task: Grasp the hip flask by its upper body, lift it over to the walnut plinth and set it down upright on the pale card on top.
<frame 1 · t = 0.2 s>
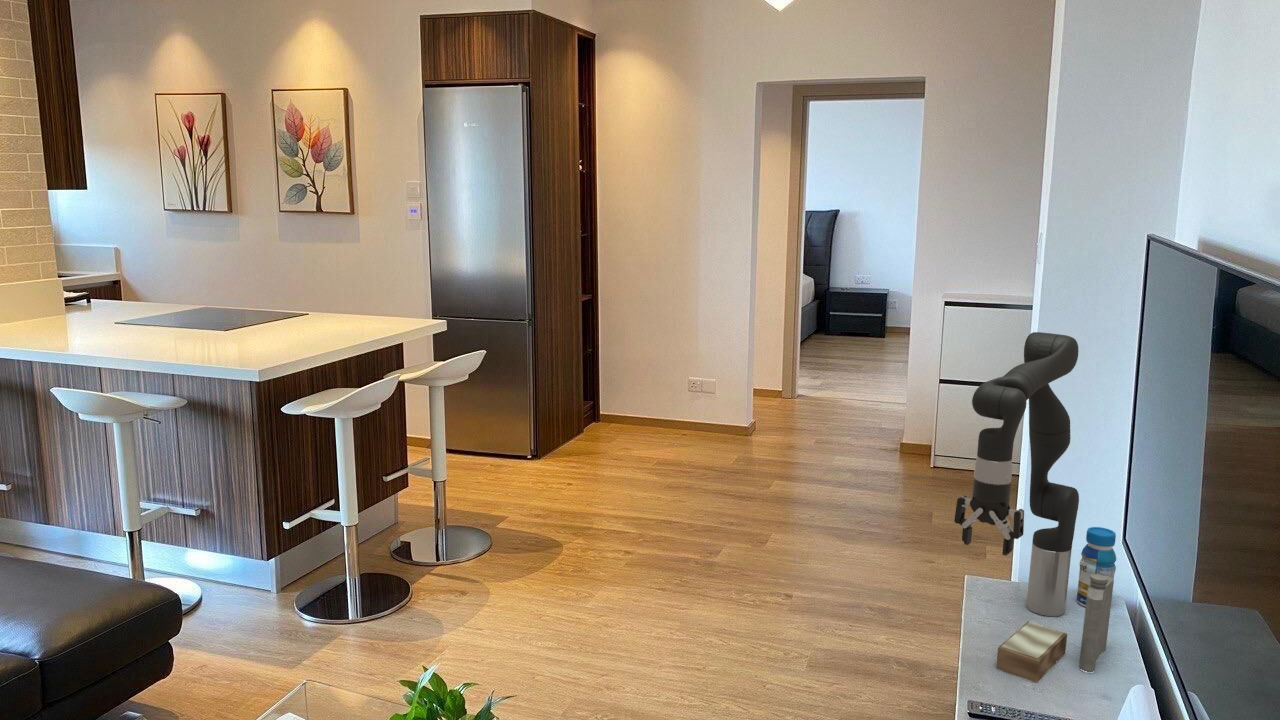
hand: (986, 549, 208), 29 cm above the tv stand, tool pointing down, fingers open, 8 cm apart
walnut plinth: (1031, 660, 219), on the tv stand
hip flask: (1090, 658, 221), on the tv stand
beverage bottle: (1093, 604, 249), on the tv stand
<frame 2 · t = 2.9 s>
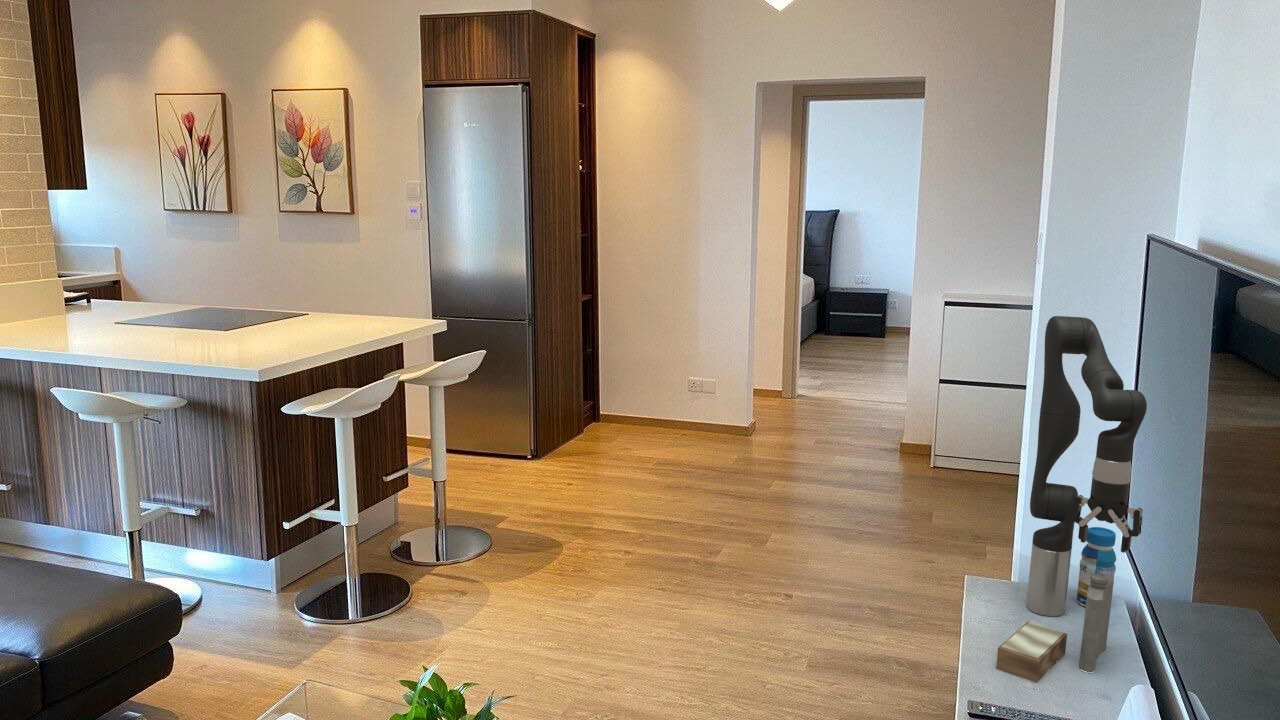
hand: (1103, 546, 216), 27 cm above the tv stand, tool pointing down, fingers open, 8 cm apart
nothing on the tv stand moved.
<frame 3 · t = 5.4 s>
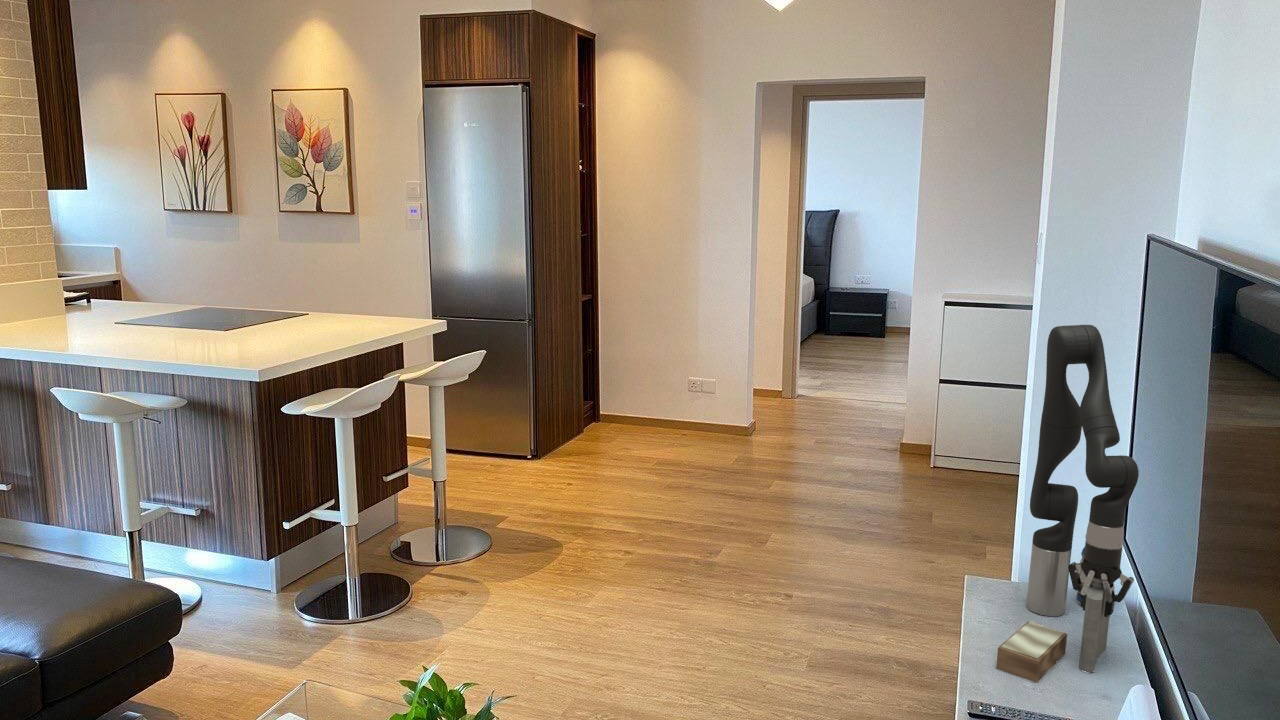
hand: (1096, 612, 219), 11 cm above the tv stand, tool pointing down, fingers closed on hip flask, 4 cm apart
hip flask: (1090, 658, 221), on the tv stand, touching gripper
everything else where it was.
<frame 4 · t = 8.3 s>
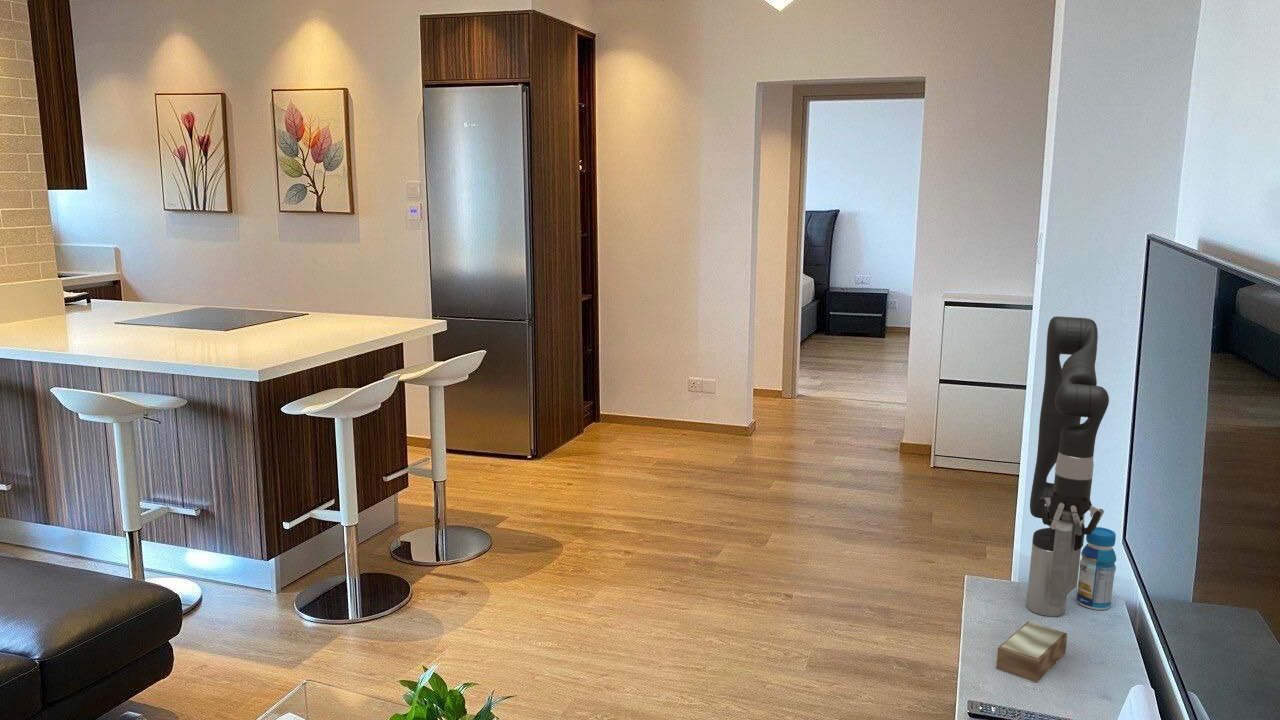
hand: (1065, 546, 214), 27 cm above the tv stand, tool pointing down, fingers closed on hip flask, 4 cm apart
hip flask: (1060, 594, 216), point 16 cm above the tv stand, touching gripper
everything else where it was.
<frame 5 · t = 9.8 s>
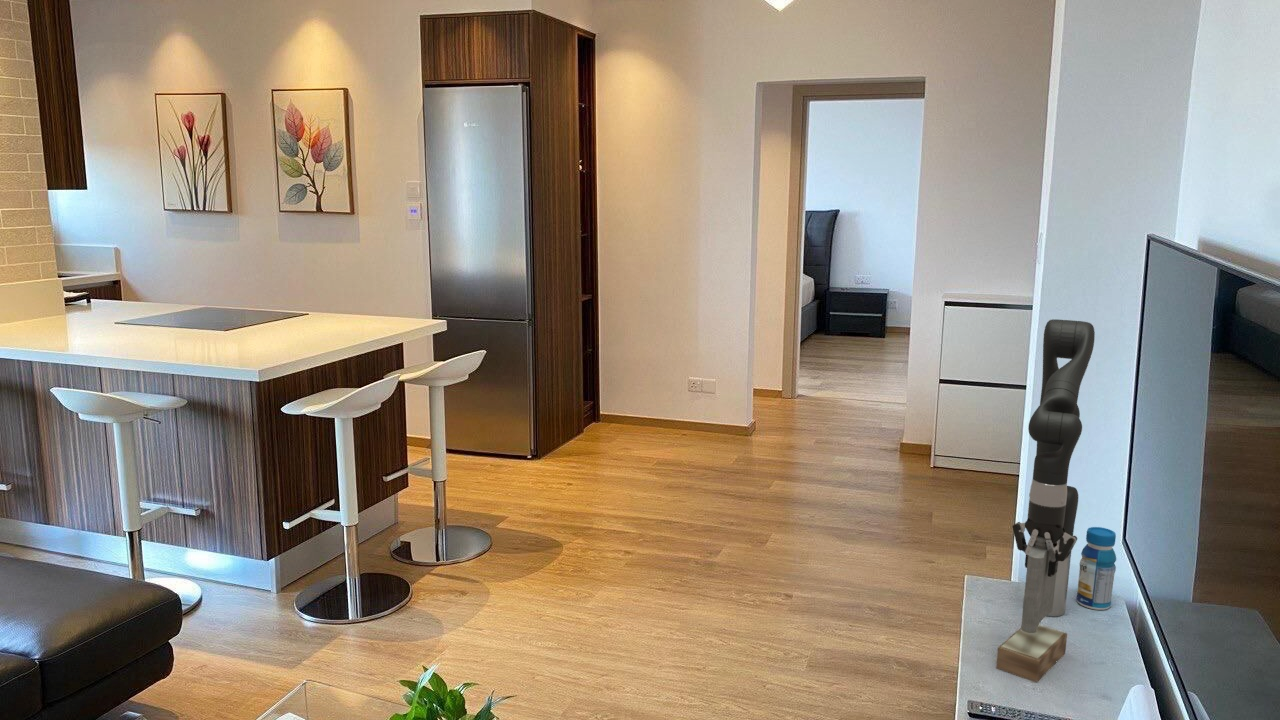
hand: (1040, 572, 215), 21 cm above the tv stand, tool pointing down, fingers closed on hip flask, 4 cm apart
hip flask: (1034, 620, 217), point 10 cm above the tv stand, touching gripper
everything else where it was.
when the fingers open (18 cm above the tv stand, at t = 11.2 s): hip flask drops 2 cm, resting on walnut plinth.
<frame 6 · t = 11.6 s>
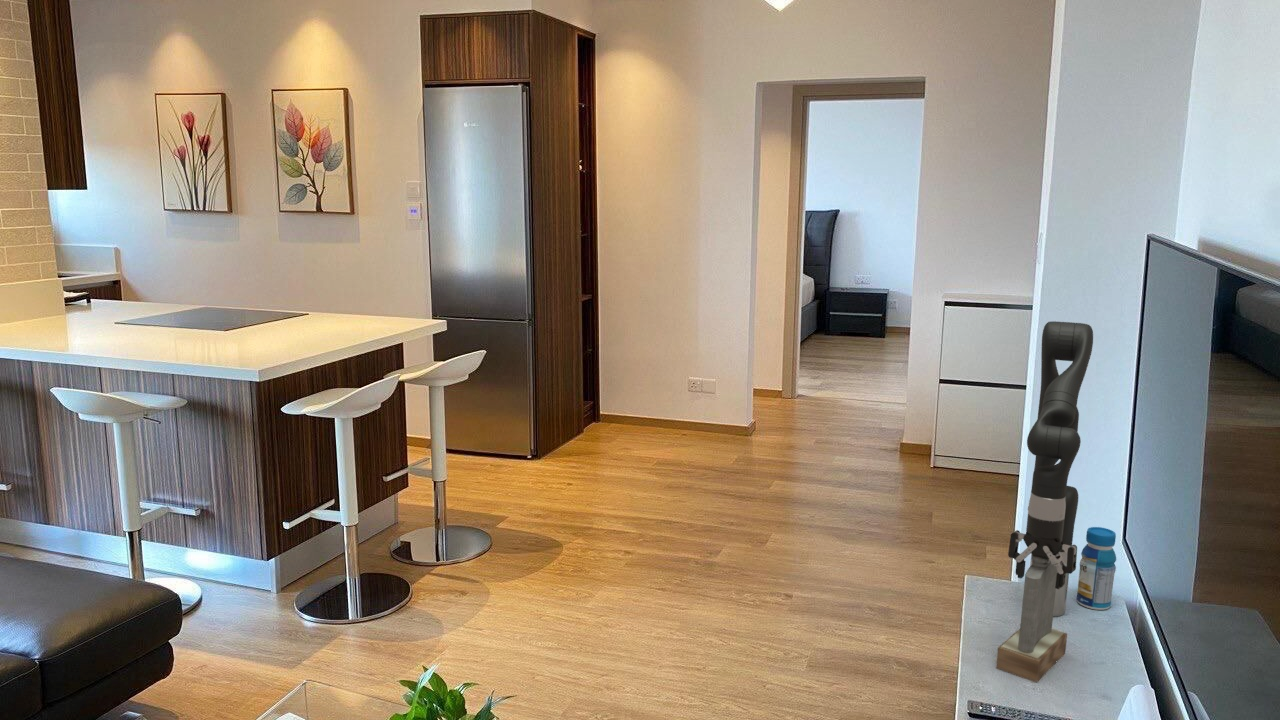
hand: (1039, 582, 215), 19 cm above the tv stand, tool pointing down, fingers open, 8 cm apart
hip flask: (1032, 639, 218), point 5 cm above the tv stand, touching walnut plinth
everything else where it was.
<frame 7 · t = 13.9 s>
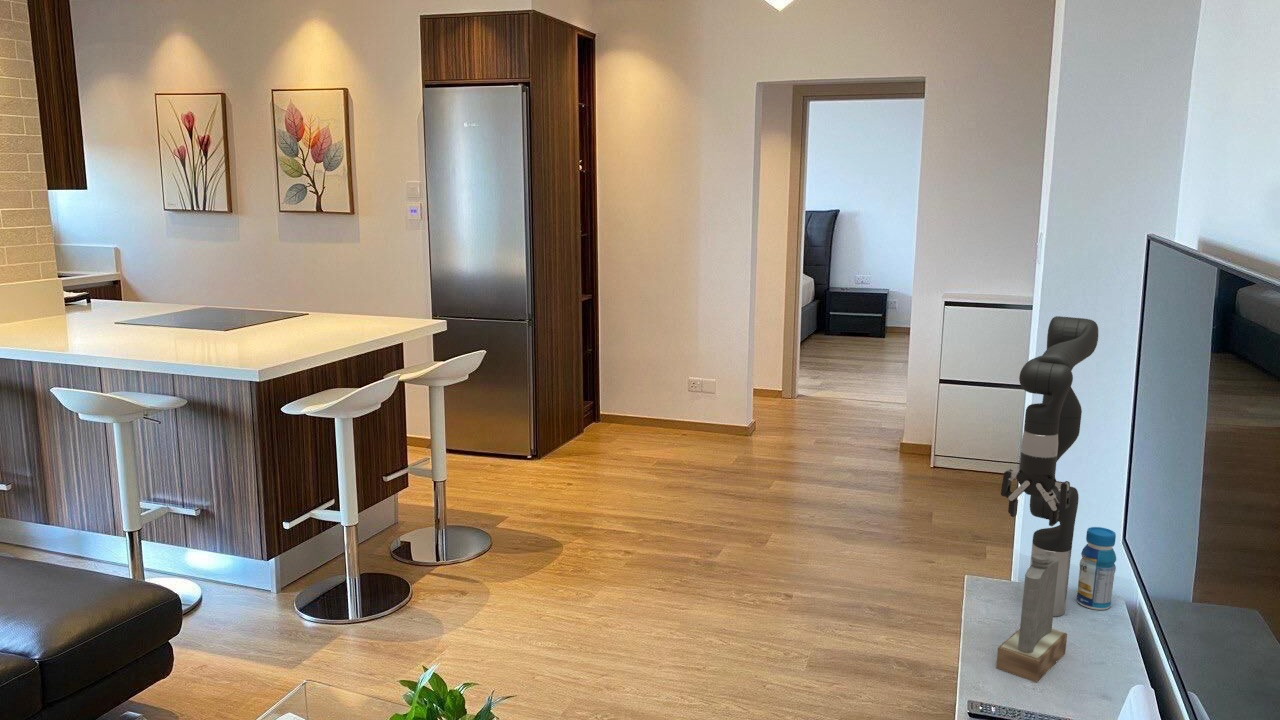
hand: (1032, 520, 215), 33 cm above the tv stand, tool pointing down, fingers open, 8 cm apart
nothing on the tv stand moved.
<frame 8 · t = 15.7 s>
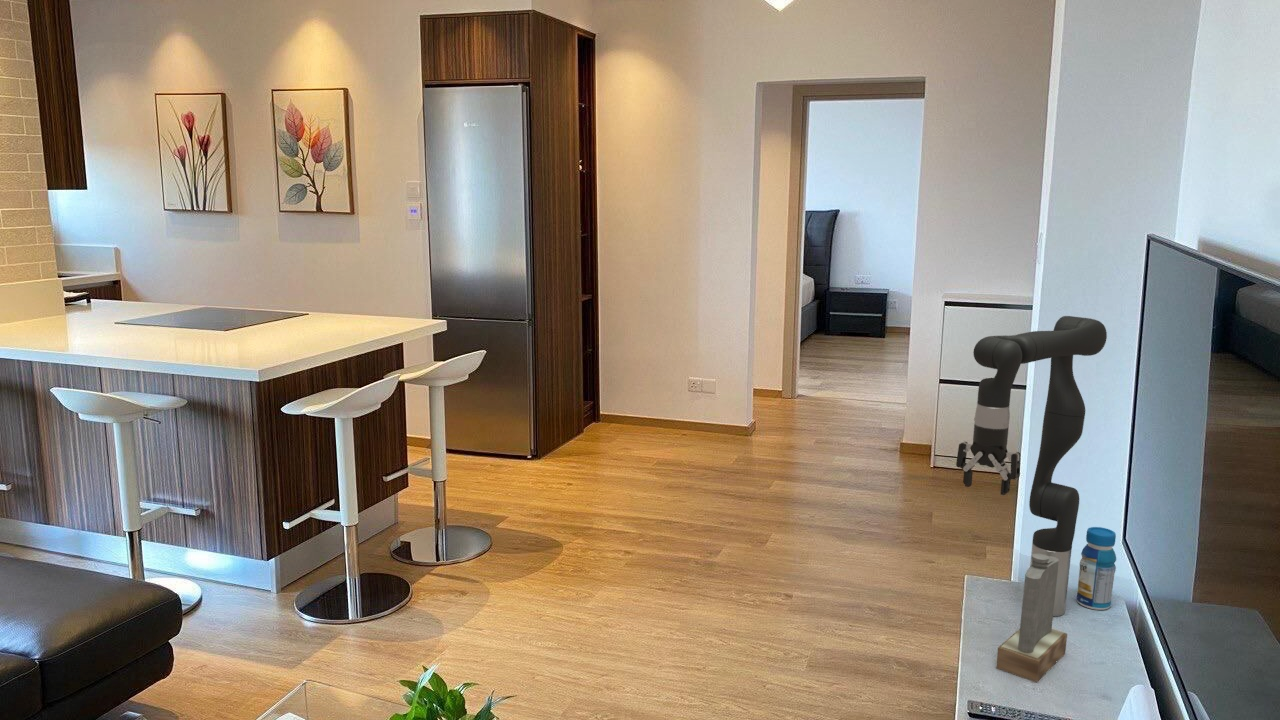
hand: (985, 490, 225), 36 cm above the tv stand, tool pointing down, fingers open, 8 cm apart
nothing on the tv stand moved.
at the end: hip flask 0.1 cm off-centre on the walnut plinth, point 5.1 cm above the walnut plinth's base; hip flask tilted 0°; the gripper is holding nothing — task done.
